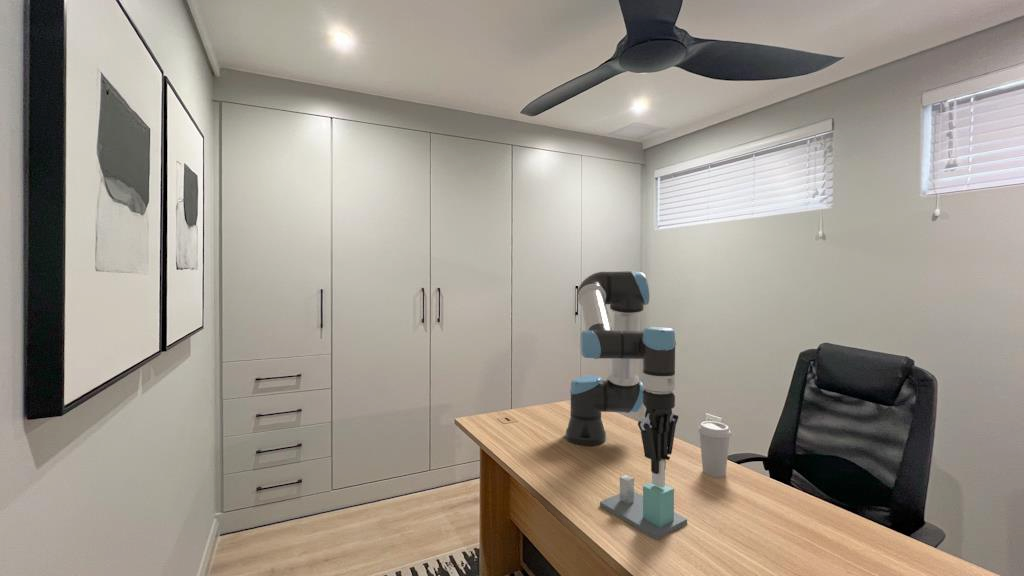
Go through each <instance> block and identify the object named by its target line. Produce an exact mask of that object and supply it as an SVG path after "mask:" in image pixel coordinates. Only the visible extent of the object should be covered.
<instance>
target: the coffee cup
mask: <svg viewBox="0 0 1024 576" xmlns="http://www.w3.org/2000/svg"><path fill="white" fill-rule="evenodd" d="M697 432H698V433H699V440H700V441H699V442H700V453H701V465H702V467H701V468H702V472H703V474H704V475H707V476H709V477H712V478H724V477H726V475H727V464H728V455H729V454H728V453H729V447H730V440H731V439H730V437H732V432H731V430H730V428H729V426H728V425H727V424H725V423H722V422H718V421H710V420H707V421H705V420H704V421H701V423H700V425H699V426H698V427H697Z"/></svg>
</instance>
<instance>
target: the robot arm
mask: <svg viewBox="0 0 1024 576" xmlns="http://www.w3.org/2000/svg"><path fill="white" fill-rule="evenodd" d="M649 288H650V287H649V282H648V280H647V276H646V274H644V272H641V271H632V270H631V271H630V270H629V271H627V270H626V271H599V272H598V271H597V272H595V273H593V274H590V275H589V276H587V277H586V278H585V279H584V280H583V281H582V282H581V283H580V285H578V288H577V300H578V304H579V305H580V306H581V307H582V315H583V322H584V327H585V330H582V331H581V332H580V354H581V357H583V358H585V359H586V358H587V359H594V360H598V359H612V360H611V361H612V362H611V372H610V373H608V374H607V378H606V379H607V380H602V377H601V376H599V375H592V374H591V375H582V376H579V377H575V378H574V379H572V381H570V390H569V394H570V418H569V421H568V425H567V428H566V430H565V438H566V440H567V441H569V442H570V443H573V444H577V445H581V446H596V445H601V444H603V443H605V442H606V440H607V434H606V431H605V427H604V423H603V421H602V413H603V412H605V413H625V414H629V413H637V412H639V411H640V410H641V408H642V406H643V405H644V407H645V413H644V419H643V420H642V421H640V420H639V421H638V422H637V427H638V428H639V430H640V434H641V440H642V441H641V442H642V446H643V452H644V453H643V454H644V457H645V458H647V459H649V460H650V465H651V466H650V471H651V482H652V484H654V485H656V486H658V487H660V488H662V487H664V486H665V484H666V469H667V468H666V467H667V465H666V463H667V462H666V460H667V461H669V460H670V459H671V457H670V456H669V455H672V452H673V448H674V447H673V445H674V439H675V433H676V425H677V423H678V420H679V415H677V414H675V413H673V409H674V408H675V406H676V393H675V392H674V391H675V389H676V387H675V386H676V379H675V377H676V345H677V341H676V333H675V331H674V329H673V328H671V327H664V326H663V327H662V326H650V327H646V328H644V329H641V330H639V315H640V314H641V313H642V312H643V311H644V306H646V305H649V303H650V289H649ZM607 305H609V309H610V311H611V312H612V313H613V327H612V323H611V319H610V316H609V312H608V308H607ZM637 360H642V368H643V369H642V381H641V380H640V377H639V376H638V375H637V374H636V369H637Z"/></svg>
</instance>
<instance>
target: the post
mask: <svg viewBox="0 0 1024 576" xmlns="http://www.w3.org/2000/svg"><path fill="white" fill-rule="evenodd" d="M634 492H635V478H634V477H632V476H630V475H628V474H624V475H621V476H619V494H620V501H621V502H623V503H624V504H626V505H629V504H631V503H633V502H634Z"/></svg>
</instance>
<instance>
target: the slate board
mask: <svg viewBox="0 0 1024 576" xmlns="http://www.w3.org/2000/svg"><path fill="white" fill-rule="evenodd" d="M599 507H601V508H603V509H604V510H605V511H606V512H608V513H610V514H612V515H614V516H616V517H617V518H619V519H621V520H622V521H624V522H626V523H627V524H628V525H630V526H632V527H633V528H635V529H636V530H639V531H640V532H642V533H644V534H645V535H646V536H649V537H650V538H651V539H653V540H655V541H657V540H659V539H661V538H663V537H665V536H666V535H669V534H670V533H672V532H674V531H676V530H678V529H680V528H682V527H683V526H686V525H687V524H688V519H687V518H686V517H684V516H683V515H680V514H678V513H677V512H675V511H674V521H672V522H670V523H668V524H666V525H664V526H662V527H659V526H657V525H655V524H654V523H652V522H650V521H648V520H647V519H645V518H643V494H640V493H638V492H636V491H634V502H633V503H631V504H629V505H626V504H624V503H623V502H621V501H620V493H618V494H615V495H613V496H611V497H608V498H605V499H603V500H601V501H599Z"/></svg>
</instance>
